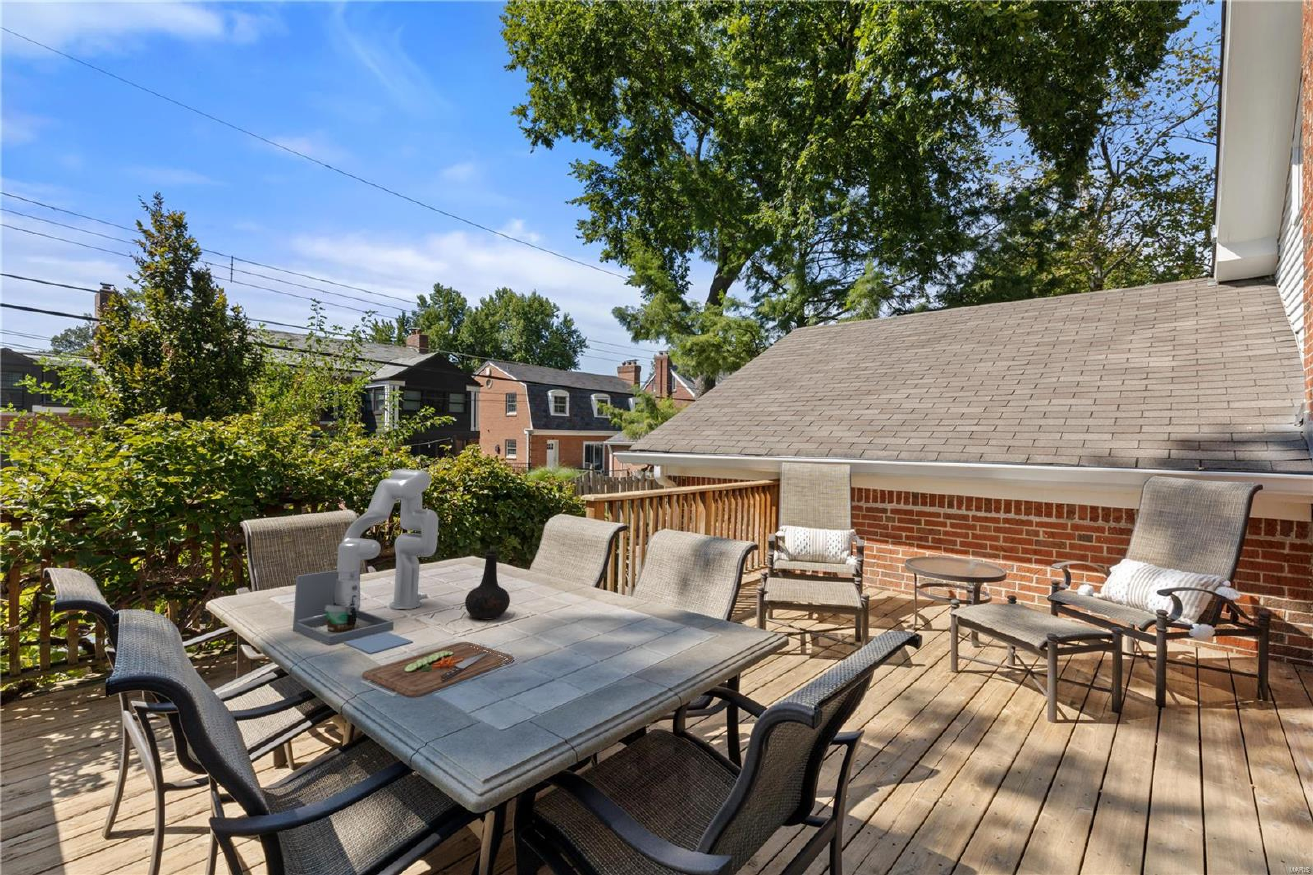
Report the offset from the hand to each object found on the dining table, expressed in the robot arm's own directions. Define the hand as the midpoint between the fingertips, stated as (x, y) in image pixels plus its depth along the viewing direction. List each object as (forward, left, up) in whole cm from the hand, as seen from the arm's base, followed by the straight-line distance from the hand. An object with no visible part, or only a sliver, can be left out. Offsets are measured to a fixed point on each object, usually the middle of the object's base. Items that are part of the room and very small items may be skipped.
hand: (345, 622), depth 218 cm
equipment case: (0, 0, -3) cm, 3 cm away
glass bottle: (-47, +24, -3) cm, 53 cm away
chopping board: (0, +57, -4) cm, 57 cm away
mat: (0, +22, -3) cm, 22 cm away
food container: (0, 0, -3) cm, 3 cm away
